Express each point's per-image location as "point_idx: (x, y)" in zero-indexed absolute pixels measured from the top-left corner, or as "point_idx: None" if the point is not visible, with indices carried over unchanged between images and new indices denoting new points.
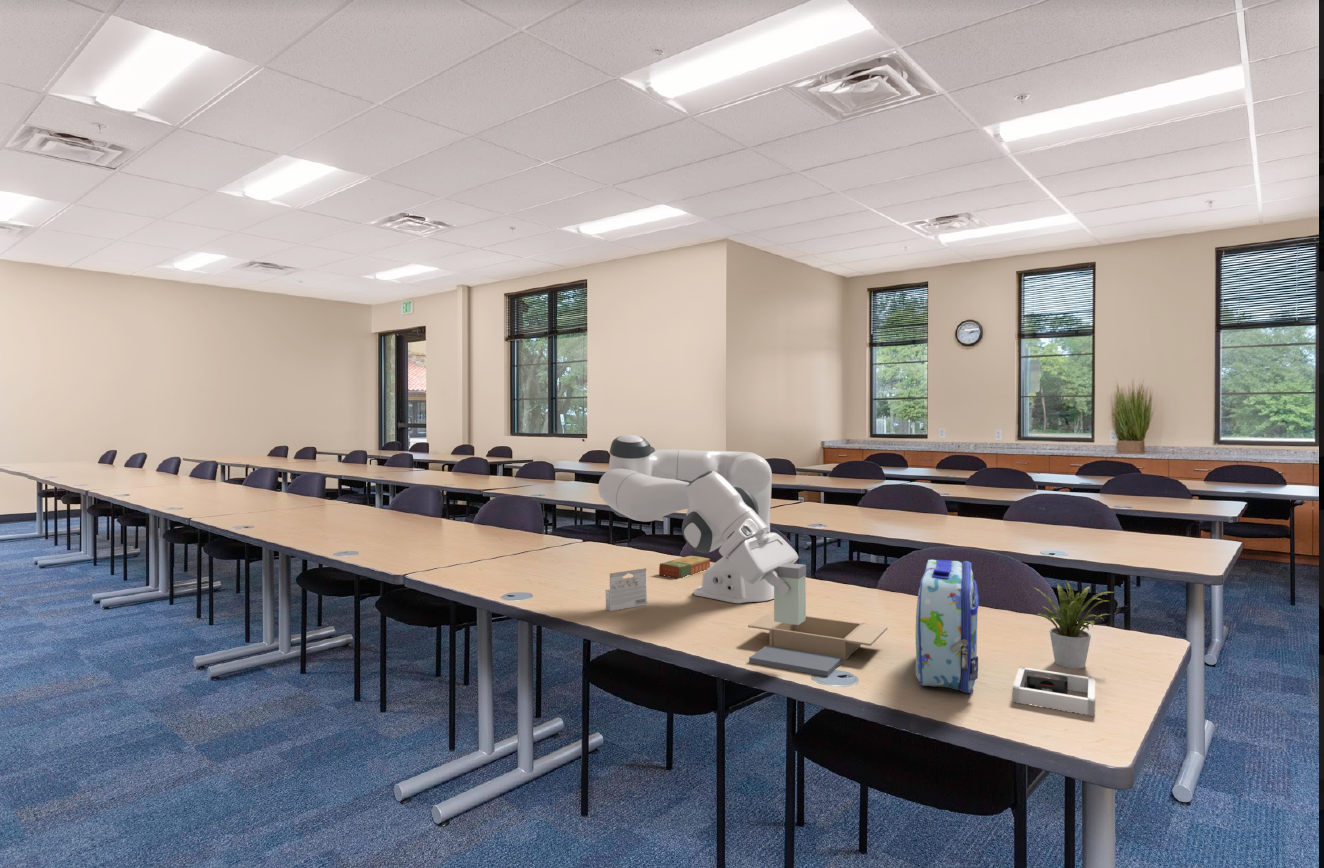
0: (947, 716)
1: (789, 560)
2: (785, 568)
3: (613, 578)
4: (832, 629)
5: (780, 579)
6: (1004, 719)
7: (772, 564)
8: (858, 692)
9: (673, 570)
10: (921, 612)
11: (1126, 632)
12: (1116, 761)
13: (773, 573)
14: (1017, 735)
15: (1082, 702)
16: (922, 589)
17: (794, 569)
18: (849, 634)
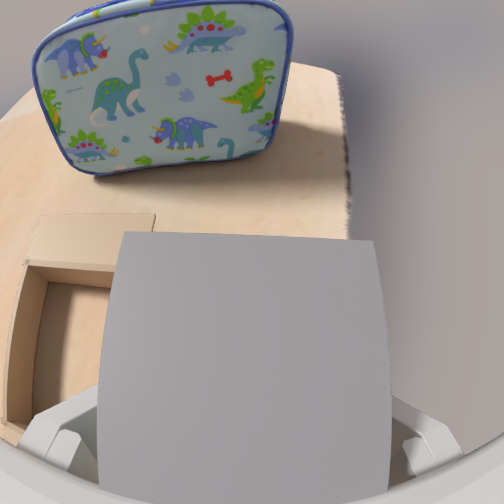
0: (327, 135)
1: (1, 447)
2: (385, 400)
3: None
4: (26, 333)
5: (399, 408)
6: (298, 103)
7: (484, 482)
8: (322, 225)
9: None
10: (292, 48)
11: (31, 90)
12: (326, 72)
13: (453, 446)
14: (328, 100)
15: None
16: (286, 11)
17: (372, 291)
18: (98, 268)
